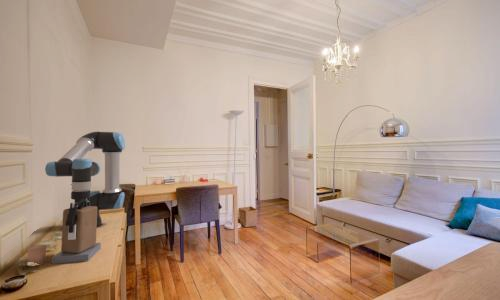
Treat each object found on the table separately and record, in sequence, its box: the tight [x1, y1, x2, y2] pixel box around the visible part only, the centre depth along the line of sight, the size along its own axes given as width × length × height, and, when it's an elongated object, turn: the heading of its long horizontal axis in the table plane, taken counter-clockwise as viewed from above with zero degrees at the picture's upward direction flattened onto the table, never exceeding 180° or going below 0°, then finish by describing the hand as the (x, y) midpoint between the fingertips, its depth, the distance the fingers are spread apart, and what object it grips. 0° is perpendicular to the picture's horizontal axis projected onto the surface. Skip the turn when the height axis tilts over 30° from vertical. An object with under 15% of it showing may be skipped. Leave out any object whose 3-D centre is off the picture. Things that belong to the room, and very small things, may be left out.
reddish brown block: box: [26, 244, 47, 266], centre depth 99 cm, size 6×6×7 cm
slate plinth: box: [51, 242, 102, 265], centre depth 108 cm, size 14×14×3 cm
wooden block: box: [60, 206, 98, 253], centre depth 108 cm, size 10×10×20 cm
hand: (79, 234), depth 108 cm, fingers open, 13 cm apart
